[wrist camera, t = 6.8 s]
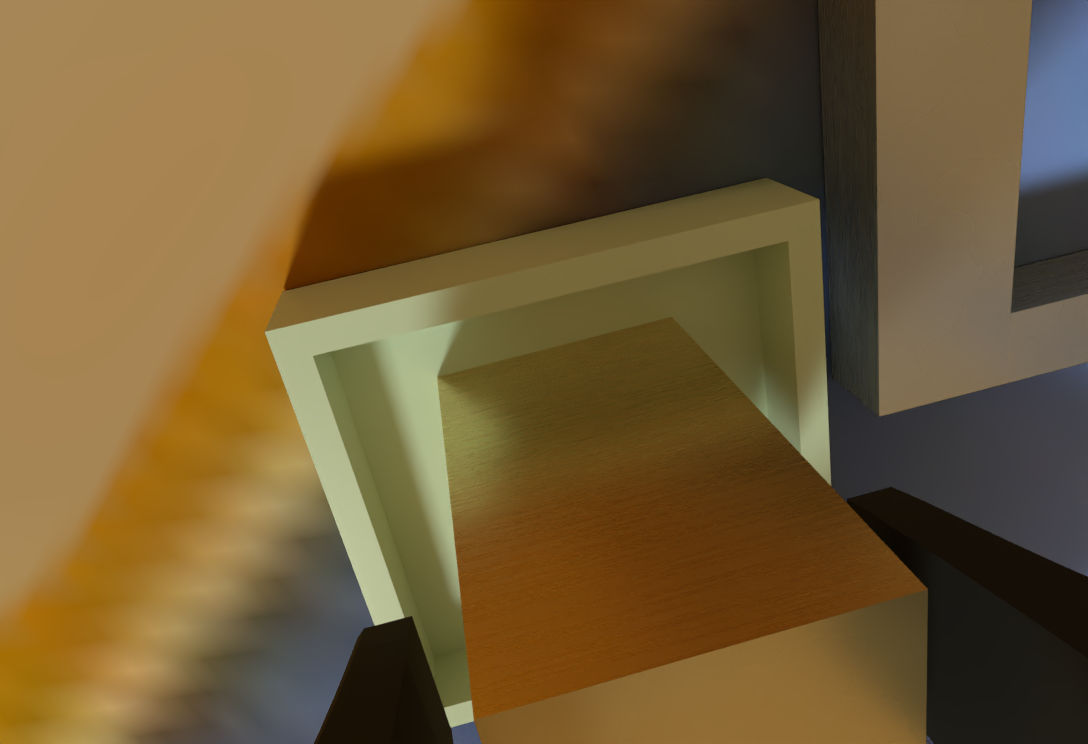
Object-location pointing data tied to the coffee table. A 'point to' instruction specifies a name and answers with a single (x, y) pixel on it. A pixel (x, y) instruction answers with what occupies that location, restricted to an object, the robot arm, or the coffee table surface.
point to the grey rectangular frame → (934, 205)
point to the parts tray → (524, 327)
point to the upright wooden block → (665, 561)
